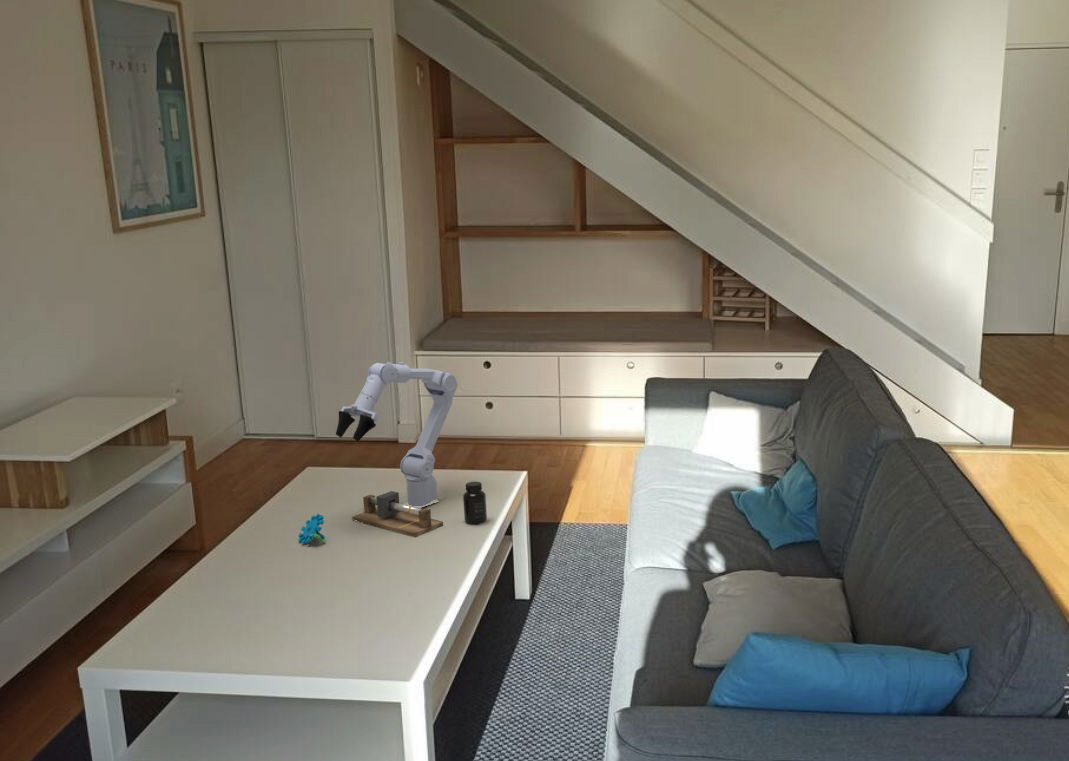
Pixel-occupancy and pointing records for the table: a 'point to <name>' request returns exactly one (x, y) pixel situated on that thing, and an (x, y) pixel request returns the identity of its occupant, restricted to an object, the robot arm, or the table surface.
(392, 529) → the pipe stand
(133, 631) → the table surface
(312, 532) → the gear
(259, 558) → the table surface
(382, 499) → the collar
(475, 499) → the supplement bottle
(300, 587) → the table surface
